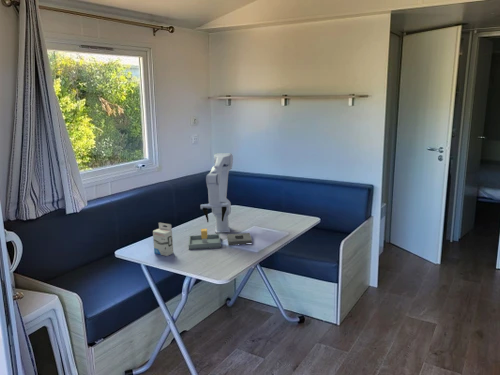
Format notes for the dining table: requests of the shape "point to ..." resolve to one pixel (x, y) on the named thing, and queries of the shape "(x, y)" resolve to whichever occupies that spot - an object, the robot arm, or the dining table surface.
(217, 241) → the parts tray
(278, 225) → the dining table surface
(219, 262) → the dining table surface
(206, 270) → the dining table surface
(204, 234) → the block
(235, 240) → the fuse holder
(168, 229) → the ink box
